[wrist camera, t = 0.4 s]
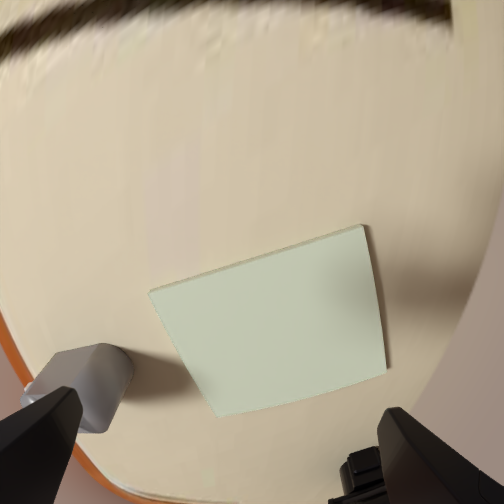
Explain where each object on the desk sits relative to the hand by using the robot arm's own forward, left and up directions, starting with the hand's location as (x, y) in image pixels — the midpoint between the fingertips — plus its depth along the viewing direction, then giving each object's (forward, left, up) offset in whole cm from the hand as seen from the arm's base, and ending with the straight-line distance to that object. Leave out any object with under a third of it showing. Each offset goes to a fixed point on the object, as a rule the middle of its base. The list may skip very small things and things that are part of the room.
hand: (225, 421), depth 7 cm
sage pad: (-6, 0, -12) cm, 14 cm away
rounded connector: (-5, +16, -12) cm, 20 cm away
